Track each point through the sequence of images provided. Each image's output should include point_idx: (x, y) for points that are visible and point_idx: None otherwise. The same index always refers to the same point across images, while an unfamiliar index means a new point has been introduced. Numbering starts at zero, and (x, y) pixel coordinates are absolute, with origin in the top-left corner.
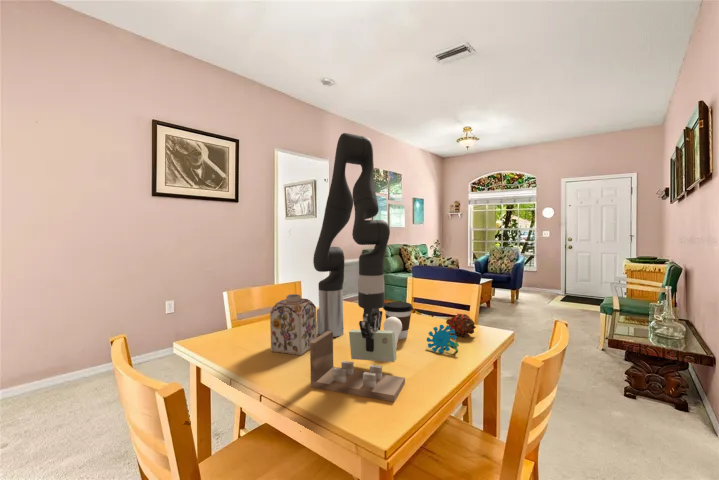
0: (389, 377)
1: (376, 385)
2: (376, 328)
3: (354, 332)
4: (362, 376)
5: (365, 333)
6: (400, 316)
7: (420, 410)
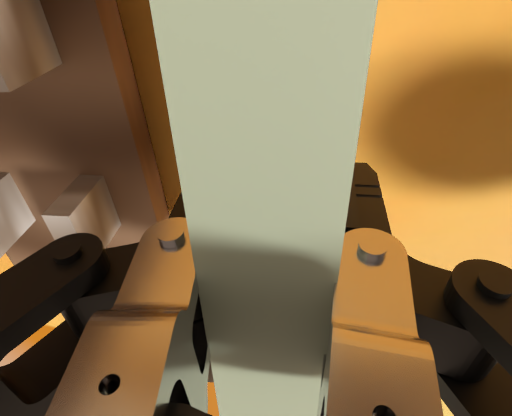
0: None
1: (39, 220)
2: (319, 394)
3: (160, 37)
4: (64, 135)
5: (130, 281)
6: None
7: (56, 320)
